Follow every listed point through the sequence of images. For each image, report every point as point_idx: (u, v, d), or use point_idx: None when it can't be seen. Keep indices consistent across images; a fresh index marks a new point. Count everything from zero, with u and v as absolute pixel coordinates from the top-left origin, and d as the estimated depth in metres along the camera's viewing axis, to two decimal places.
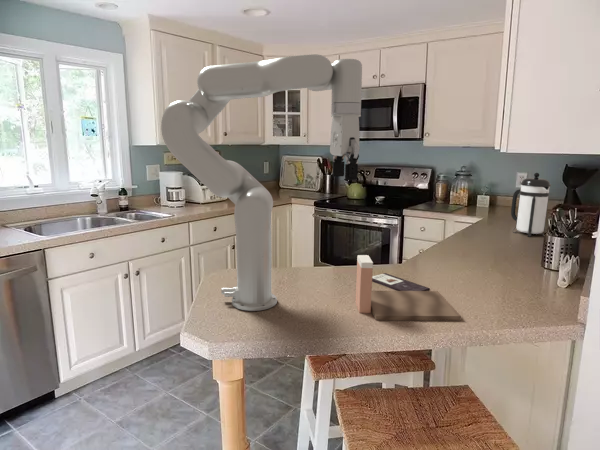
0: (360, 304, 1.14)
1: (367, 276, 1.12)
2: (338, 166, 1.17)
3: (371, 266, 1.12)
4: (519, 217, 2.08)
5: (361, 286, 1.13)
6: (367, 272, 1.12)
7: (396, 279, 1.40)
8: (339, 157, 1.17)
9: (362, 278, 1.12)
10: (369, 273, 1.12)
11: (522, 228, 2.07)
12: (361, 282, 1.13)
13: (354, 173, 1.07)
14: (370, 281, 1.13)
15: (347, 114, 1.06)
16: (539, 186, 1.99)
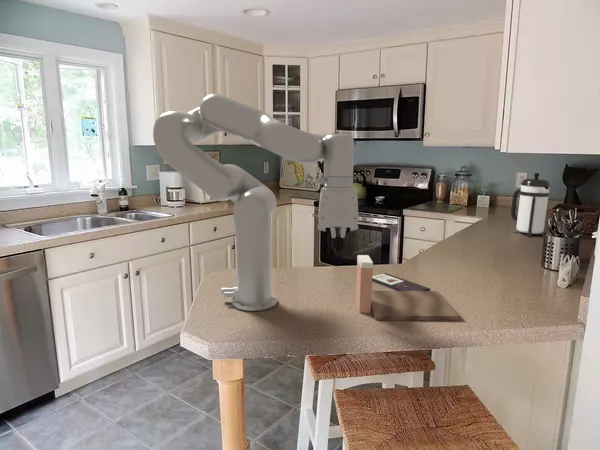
0: (360, 304, 1.14)
1: (367, 276, 1.12)
2: None
3: (371, 266, 1.12)
4: (519, 217, 2.08)
5: (361, 286, 1.13)
6: (368, 272, 1.12)
7: (397, 279, 1.40)
8: None
9: (362, 278, 1.12)
10: (369, 273, 1.12)
11: (522, 228, 2.07)
12: (361, 282, 1.13)
13: None
14: (370, 281, 1.13)
15: (352, 187, 1.10)
16: (539, 186, 1.99)
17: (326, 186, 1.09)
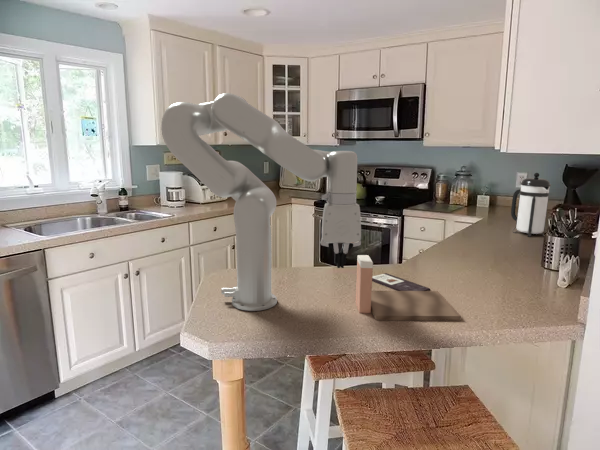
0: (360, 304, 1.14)
1: (367, 276, 1.12)
2: None
3: (371, 266, 1.12)
4: (519, 217, 2.08)
5: (361, 286, 1.13)
6: (368, 272, 1.12)
7: (397, 279, 1.40)
8: None
9: (362, 278, 1.12)
10: (369, 273, 1.12)
11: (522, 228, 2.07)
12: (361, 282, 1.13)
13: None
14: (370, 281, 1.13)
15: None
16: (539, 186, 1.99)
17: (329, 202, 1.10)
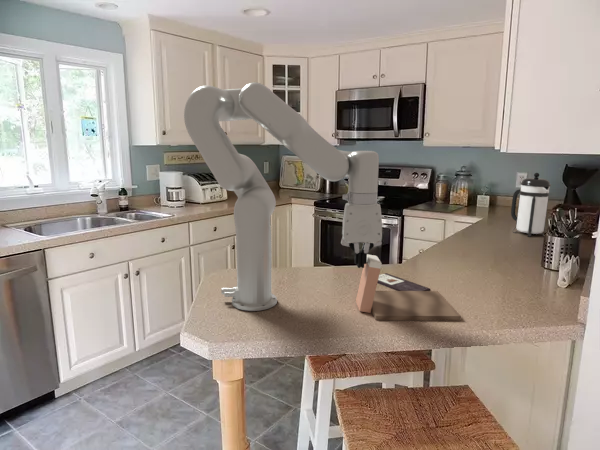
0: (362, 302, 1.14)
1: (374, 276, 1.12)
2: None
3: (379, 266, 1.12)
4: (519, 217, 2.08)
5: (366, 285, 1.13)
6: (375, 271, 1.12)
7: (397, 279, 1.40)
8: None
9: (368, 277, 1.12)
10: (376, 273, 1.12)
11: (522, 228, 2.07)
12: (367, 281, 1.13)
13: None
14: (376, 281, 1.13)
15: None
16: (539, 186, 1.99)
17: (351, 202, 1.10)
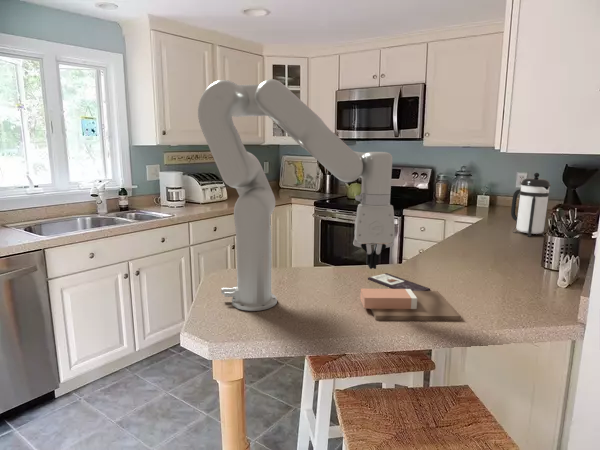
0: (373, 298, 1.14)
1: (402, 304, 1.14)
2: None
3: (412, 307, 1.14)
4: (519, 217, 2.08)
5: (392, 299, 1.14)
6: (407, 304, 1.14)
7: (397, 279, 1.40)
8: None
9: (400, 299, 1.14)
10: (405, 305, 1.14)
11: (522, 228, 2.07)
12: (396, 298, 1.14)
13: None
14: (397, 307, 1.14)
15: (389, 204, 1.11)
16: (539, 186, 1.99)
17: (364, 203, 1.10)
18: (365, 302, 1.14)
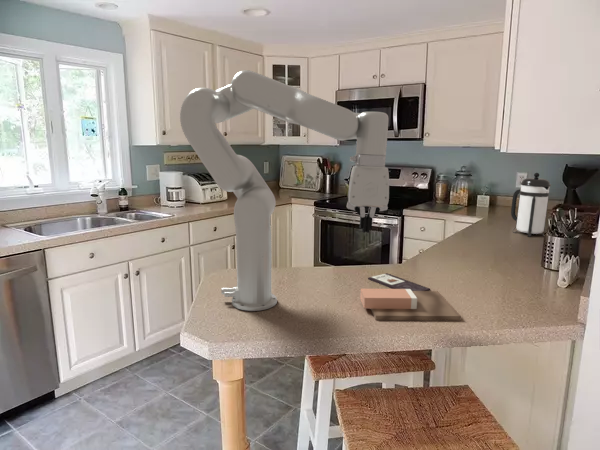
0: (373, 298, 1.14)
1: (402, 304, 1.14)
2: None
3: (412, 307, 1.14)
4: (519, 217, 2.08)
5: (392, 299, 1.14)
6: (407, 304, 1.14)
7: (398, 279, 1.40)
8: None
9: (400, 299, 1.14)
10: (405, 305, 1.14)
11: (522, 228, 2.07)
12: (396, 298, 1.14)
13: None
14: (397, 307, 1.14)
15: (384, 166, 1.09)
16: (539, 186, 1.99)
17: (358, 164, 1.08)
18: (365, 302, 1.14)
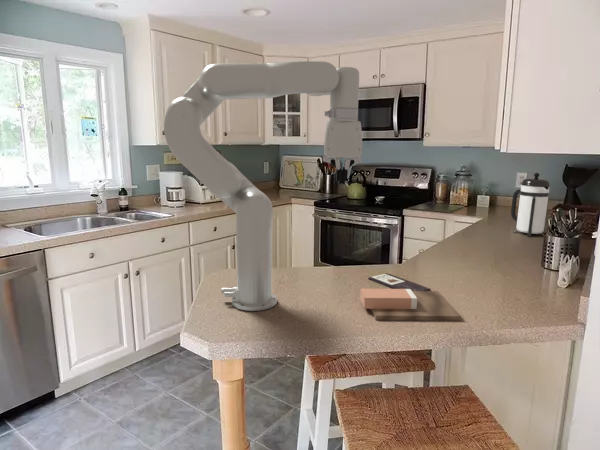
0: (373, 298, 1.14)
1: (402, 304, 1.14)
2: None
3: (412, 307, 1.14)
4: (519, 217, 2.08)
5: (392, 299, 1.14)
6: (407, 304, 1.14)
7: (398, 279, 1.40)
8: None
9: (400, 299, 1.14)
10: (405, 305, 1.14)
11: (522, 228, 2.07)
12: (396, 298, 1.14)
13: None
14: (397, 307, 1.14)
15: (357, 119, 1.15)
16: (539, 186, 1.99)
17: (332, 118, 1.14)
18: (365, 302, 1.14)
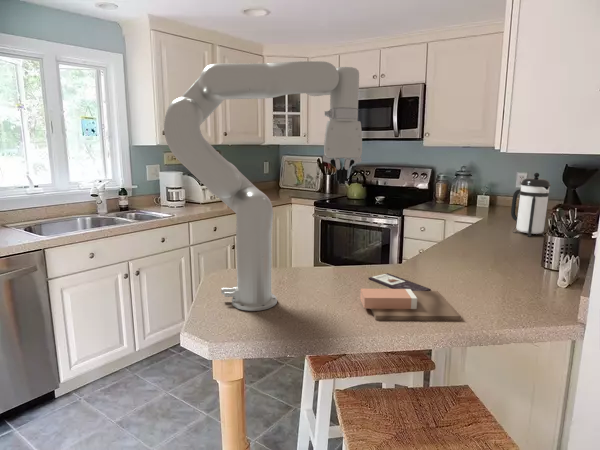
0: (373, 298, 1.14)
1: (402, 304, 1.14)
2: None
3: (412, 307, 1.14)
4: (519, 217, 2.08)
5: (392, 299, 1.14)
6: (407, 304, 1.14)
7: (398, 279, 1.40)
8: None
9: (400, 299, 1.14)
10: (405, 305, 1.14)
11: (522, 228, 2.07)
12: (396, 298, 1.14)
13: None
14: (397, 307, 1.14)
15: None
16: (539, 186, 1.99)
17: (332, 118, 1.14)
18: (365, 302, 1.14)
